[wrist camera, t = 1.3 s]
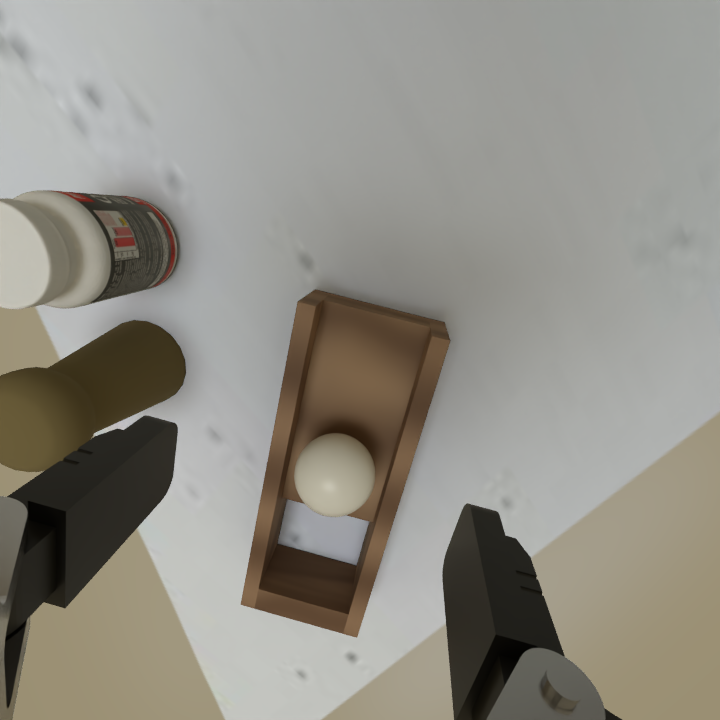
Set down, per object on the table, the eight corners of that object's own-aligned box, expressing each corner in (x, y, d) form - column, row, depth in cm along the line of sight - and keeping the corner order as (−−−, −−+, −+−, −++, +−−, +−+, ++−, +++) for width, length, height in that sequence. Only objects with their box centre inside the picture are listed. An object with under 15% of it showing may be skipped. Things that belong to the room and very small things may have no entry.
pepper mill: (203, 368, 30) (92, 446, 20) (149, 417, 32) (21, 513, 21) (139, 302, 29) (-14, 347, 19) (87, 356, 31) (-79, 425, 20)
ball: (312, 411, 27) (292, 449, 23) (386, 430, 27) (381, 472, 23) (298, 474, 29) (277, 522, 24) (368, 493, 29) (360, 544, 24)
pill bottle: (153, 182, 27) (13, 160, 17) (196, 270, 28) (87, 294, 19) (80, 218, 28) (-89, 217, 18) (124, 301, 29) (-13, 338, 20)
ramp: (315, 289, 27) (297, 301, 23) (444, 322, 27) (450, 340, 23) (261, 558, 35) (240, 604, 30) (363, 587, 34) (356, 637, 30)
